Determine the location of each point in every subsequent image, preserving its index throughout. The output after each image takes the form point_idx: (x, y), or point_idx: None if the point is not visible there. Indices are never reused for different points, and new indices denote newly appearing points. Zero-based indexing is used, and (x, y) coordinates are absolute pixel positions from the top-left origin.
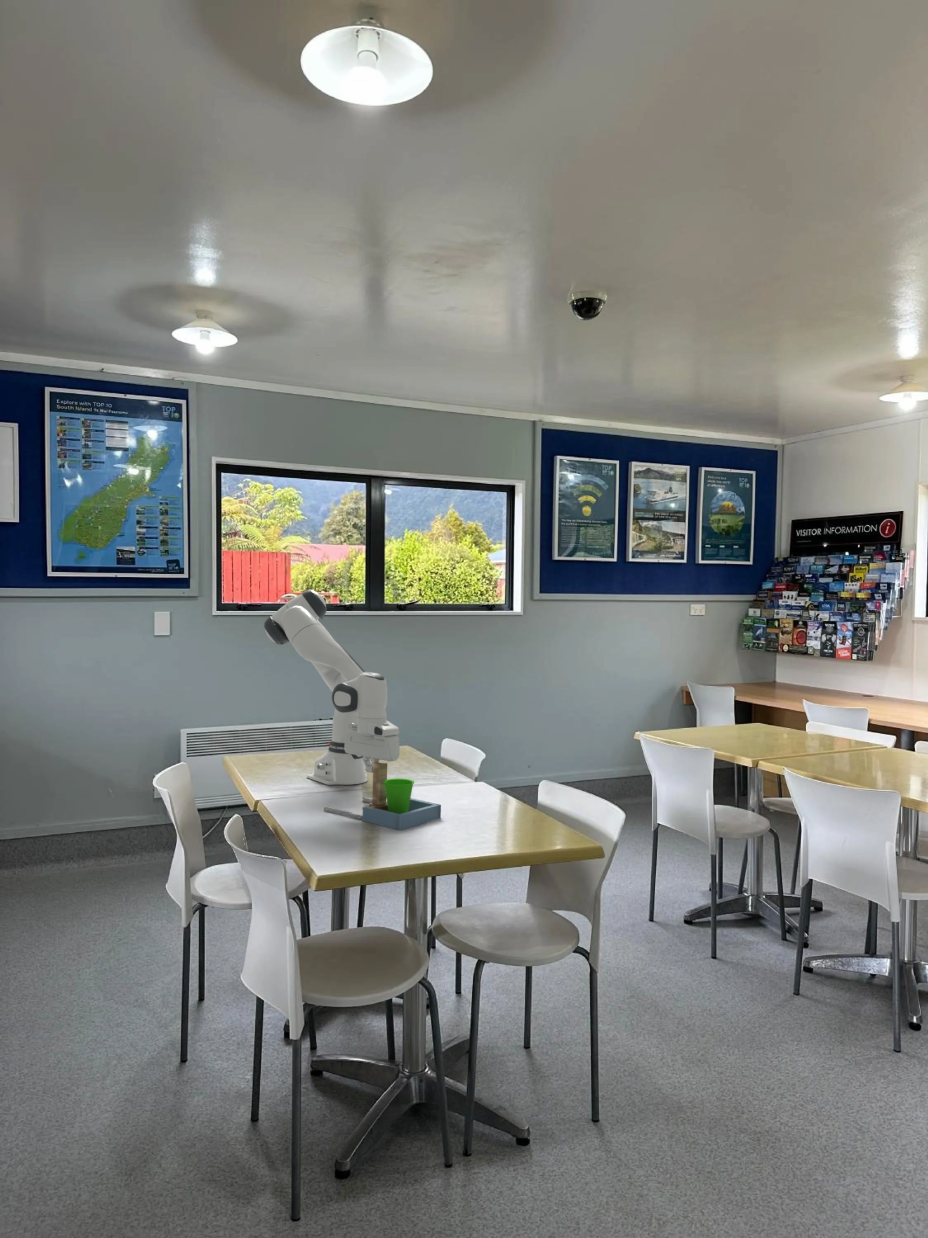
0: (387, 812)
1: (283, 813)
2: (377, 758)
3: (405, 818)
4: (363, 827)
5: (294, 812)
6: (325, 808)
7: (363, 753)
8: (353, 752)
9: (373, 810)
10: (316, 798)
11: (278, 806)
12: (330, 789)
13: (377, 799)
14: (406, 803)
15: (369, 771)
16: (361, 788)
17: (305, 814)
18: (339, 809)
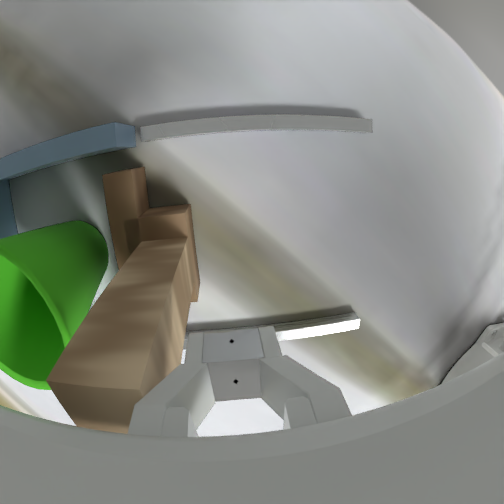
0: (4, 162)
1: (410, 23)
2: (38, 421)
3: None
4: (73, 83)
5: (403, 47)
6: (360, 118)
7: (326, 458)
8: (489, 378)
9: (58, 137)
10: (467, 225)
11: (470, 83)
12: (474, 312)
13: (149, 248)
14: (19, 277)
15: (220, 332)
16: (425, 373)
17: (363, 44)
18: (293, 125)
